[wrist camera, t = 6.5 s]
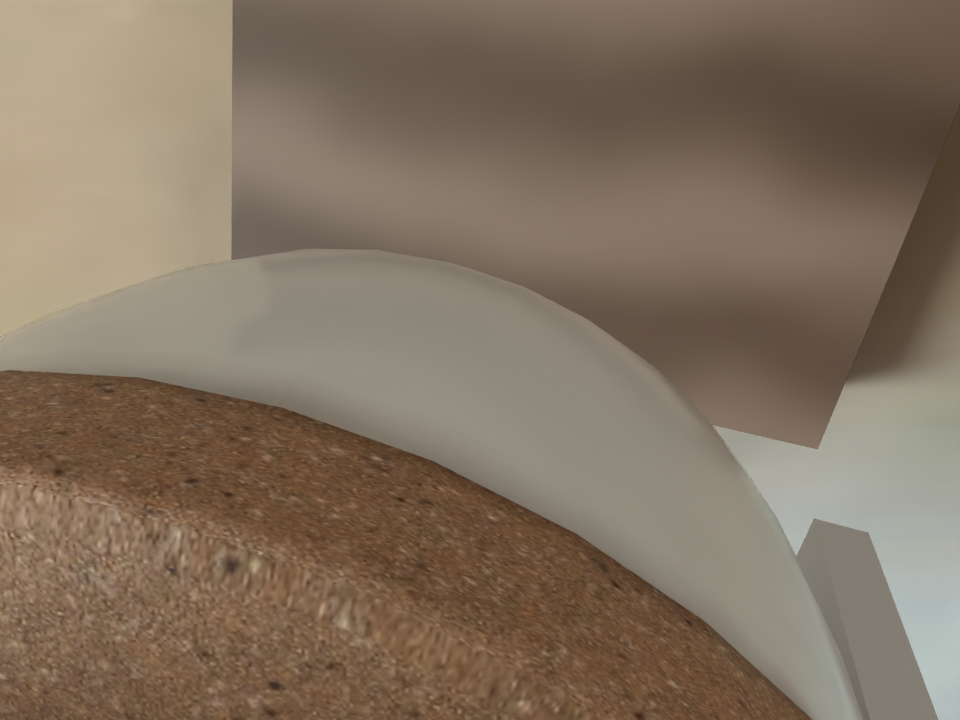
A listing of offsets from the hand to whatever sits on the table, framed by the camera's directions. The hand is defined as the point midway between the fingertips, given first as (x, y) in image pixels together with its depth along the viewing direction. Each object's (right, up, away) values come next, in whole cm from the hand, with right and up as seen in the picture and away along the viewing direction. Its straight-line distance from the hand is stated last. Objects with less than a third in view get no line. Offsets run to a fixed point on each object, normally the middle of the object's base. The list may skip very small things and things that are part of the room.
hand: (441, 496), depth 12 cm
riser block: (+4, +11, +13) cm, 17 cm away
